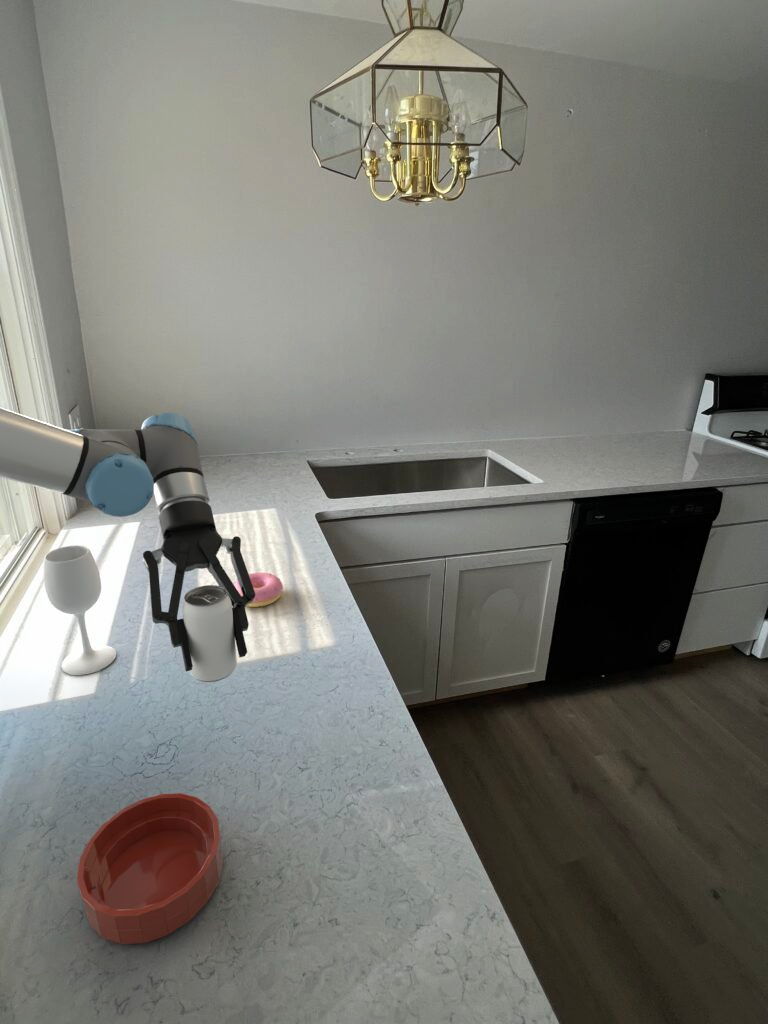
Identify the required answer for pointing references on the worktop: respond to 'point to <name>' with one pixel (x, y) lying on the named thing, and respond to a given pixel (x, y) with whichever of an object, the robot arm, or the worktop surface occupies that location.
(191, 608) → the can
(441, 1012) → the worktop surface
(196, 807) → the bowl
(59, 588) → the wineglass
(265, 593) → the doughnut
